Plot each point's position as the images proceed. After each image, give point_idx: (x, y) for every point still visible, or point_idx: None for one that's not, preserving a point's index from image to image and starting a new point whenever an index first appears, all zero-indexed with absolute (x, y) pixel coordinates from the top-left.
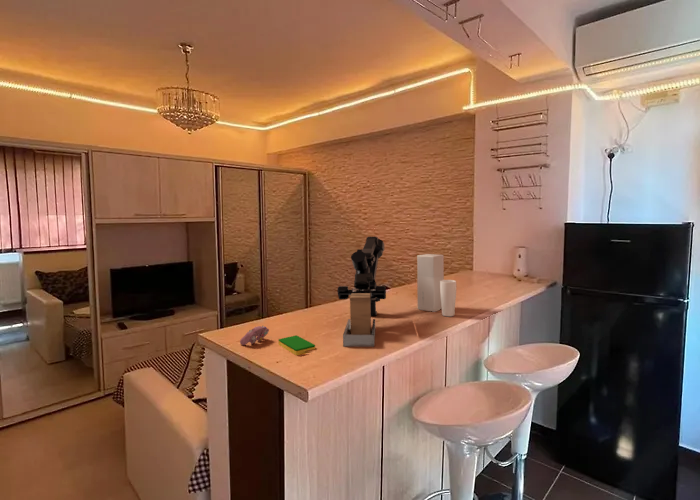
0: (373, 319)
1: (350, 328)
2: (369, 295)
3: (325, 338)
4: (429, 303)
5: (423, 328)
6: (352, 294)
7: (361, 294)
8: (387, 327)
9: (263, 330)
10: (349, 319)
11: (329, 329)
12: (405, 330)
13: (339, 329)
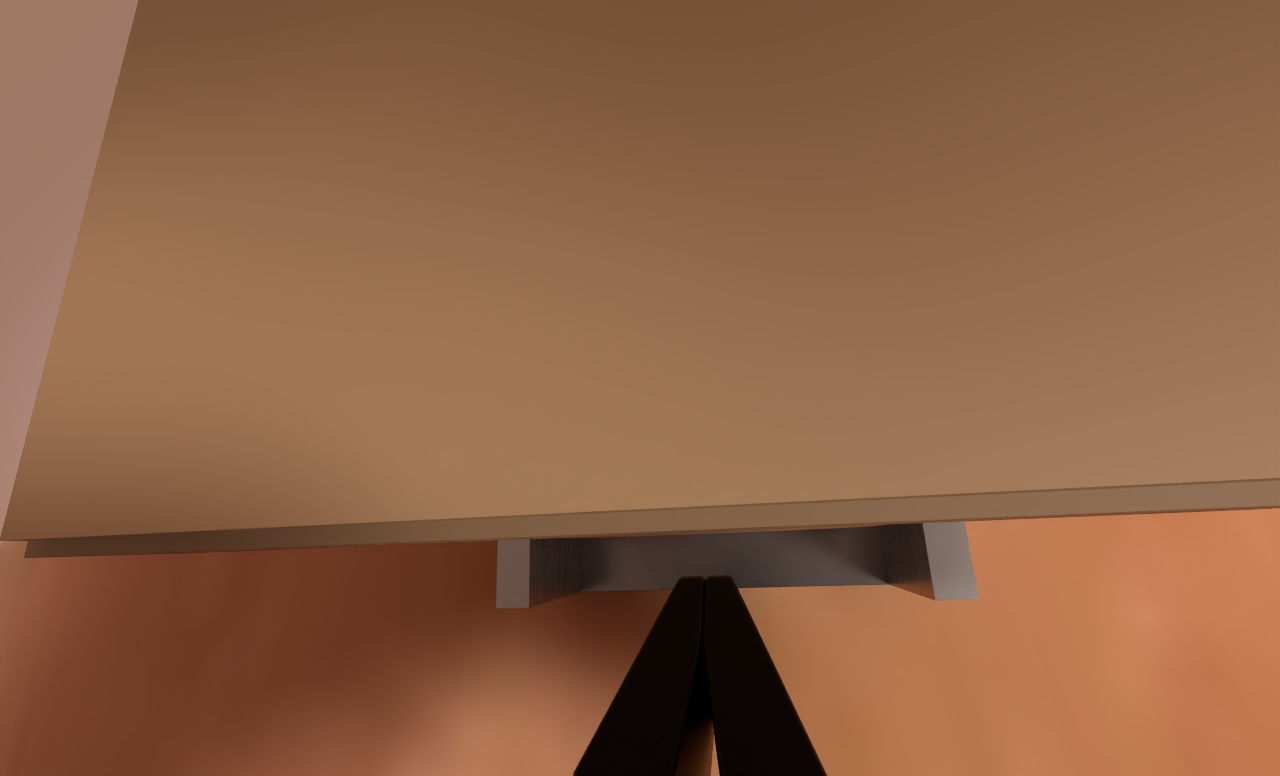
0: (521, 580)
1: (890, 559)
2: (155, 5)
3: None
4: None
5: (58, 709)
6: (1179, 54)
7: (518, 146)
8: (414, 764)
9: None
10: (947, 574)
11: (1263, 662)
12: (241, 624)
13: (1083, 663)
